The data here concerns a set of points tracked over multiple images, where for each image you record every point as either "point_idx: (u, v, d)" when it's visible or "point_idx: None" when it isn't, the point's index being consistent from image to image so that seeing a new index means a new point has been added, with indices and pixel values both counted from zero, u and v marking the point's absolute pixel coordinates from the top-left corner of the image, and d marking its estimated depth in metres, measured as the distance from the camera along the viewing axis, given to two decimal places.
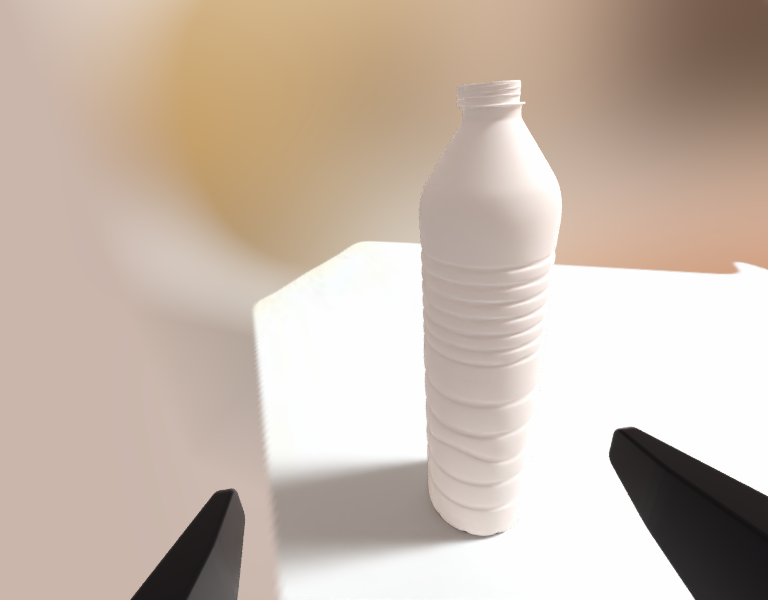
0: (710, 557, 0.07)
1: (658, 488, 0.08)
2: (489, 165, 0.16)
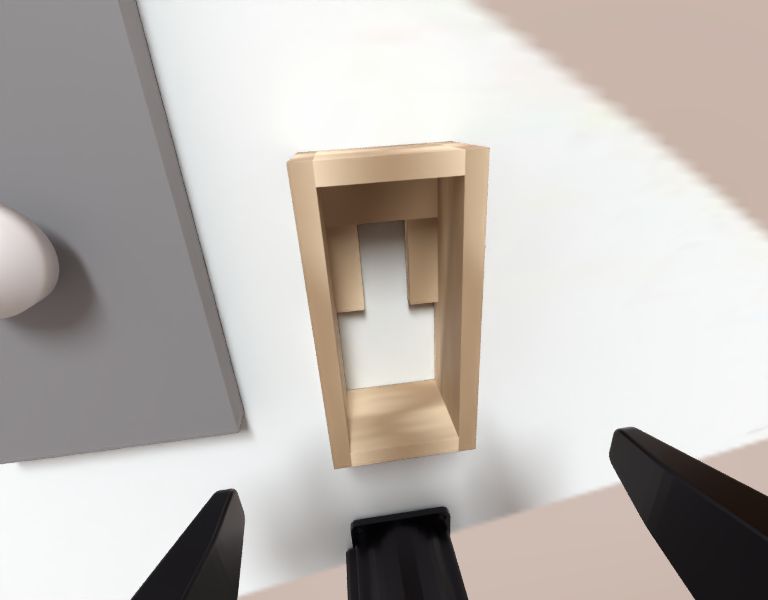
0: (710, 557, 0.07)
1: (658, 488, 0.08)
2: None
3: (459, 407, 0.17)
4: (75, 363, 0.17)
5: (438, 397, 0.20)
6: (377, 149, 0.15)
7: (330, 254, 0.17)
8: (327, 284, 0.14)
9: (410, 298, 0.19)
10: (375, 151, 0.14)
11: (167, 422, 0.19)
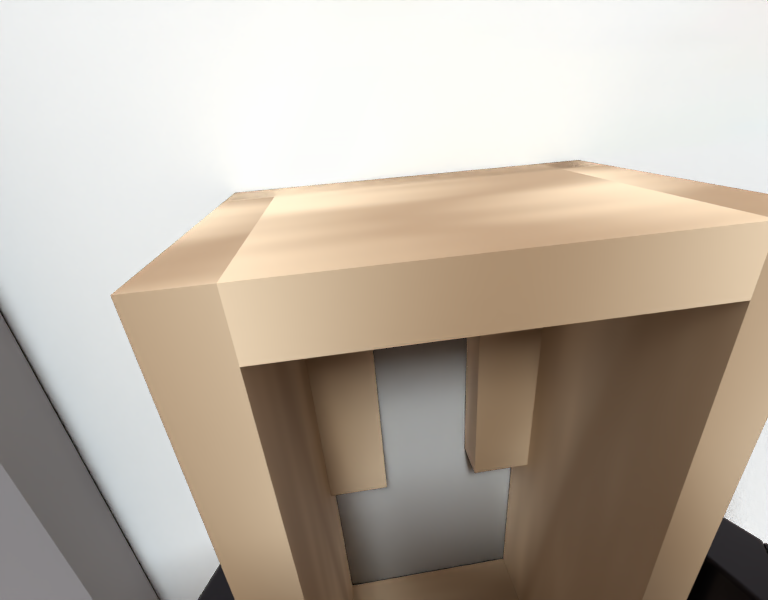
0: None
1: None
2: None
3: None
4: None
5: None
6: (426, 190, 0.06)
7: (316, 401, 0.08)
8: (299, 589, 0.05)
9: (475, 461, 0.10)
10: (429, 204, 0.05)
11: None
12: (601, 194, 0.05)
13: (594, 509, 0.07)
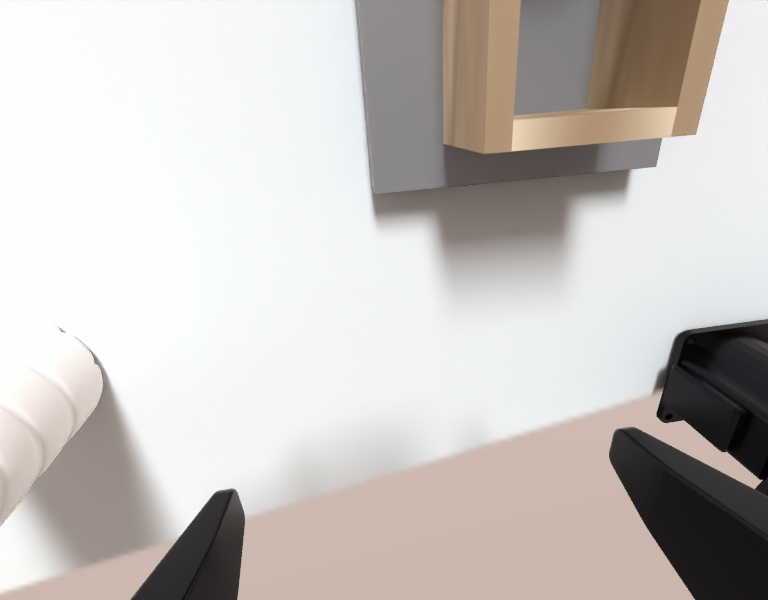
0: (710, 557, 0.07)
1: (658, 488, 0.08)
2: None
3: (690, 39, 0.11)
4: (531, 36, 0.14)
5: (606, 109, 0.14)
6: None
7: None
8: None
9: None
10: None
11: None
12: None
13: None
